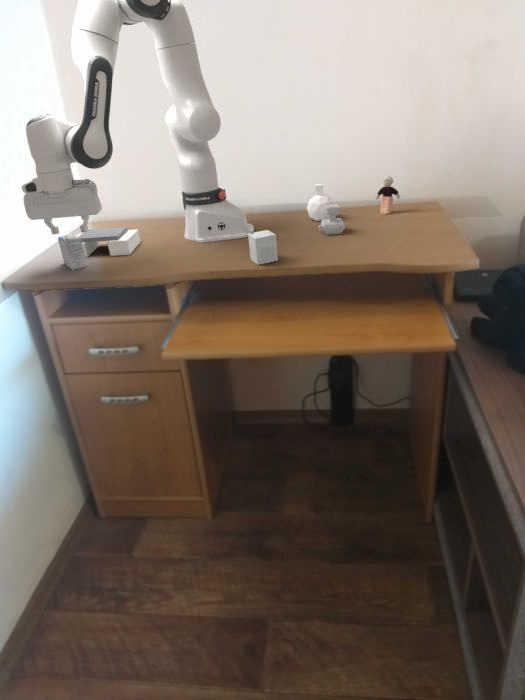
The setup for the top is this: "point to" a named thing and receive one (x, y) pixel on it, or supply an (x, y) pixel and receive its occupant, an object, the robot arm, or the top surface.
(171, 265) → the top surface
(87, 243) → the cutout shelf
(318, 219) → the perfume bottle
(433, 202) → the top surface
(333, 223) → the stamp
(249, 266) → the top surface
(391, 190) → the grandmother figurine
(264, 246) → the skincare box
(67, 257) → the medicine box
